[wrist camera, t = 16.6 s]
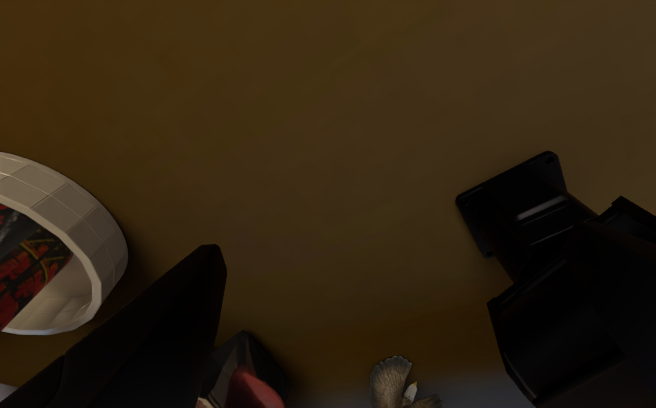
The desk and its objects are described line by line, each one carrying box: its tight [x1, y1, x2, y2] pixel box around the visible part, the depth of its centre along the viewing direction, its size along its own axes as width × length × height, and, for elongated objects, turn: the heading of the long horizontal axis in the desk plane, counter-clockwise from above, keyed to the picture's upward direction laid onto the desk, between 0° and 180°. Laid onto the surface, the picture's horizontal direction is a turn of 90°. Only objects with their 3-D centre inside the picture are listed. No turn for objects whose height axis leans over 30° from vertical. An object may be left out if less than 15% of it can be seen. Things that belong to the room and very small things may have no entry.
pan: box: [0, 152, 128, 335], centre depth 21 cm, size 13×13×4 cm
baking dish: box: [196, 330, 291, 408], centre depth 29 cm, size 14×18×10 cm
